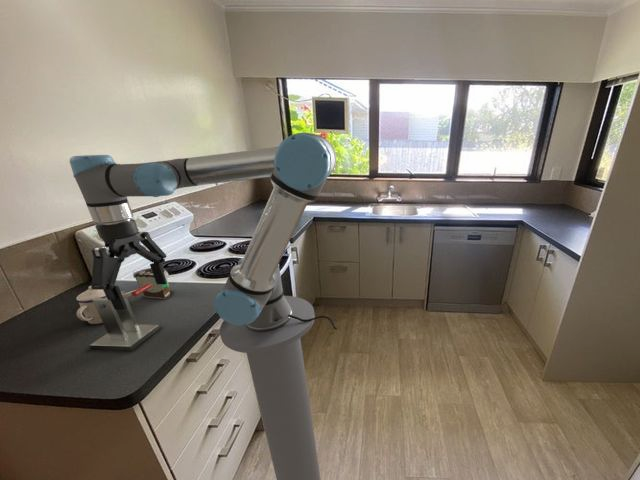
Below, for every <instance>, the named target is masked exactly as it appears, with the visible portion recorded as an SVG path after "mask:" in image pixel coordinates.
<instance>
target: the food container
mask: <svg viewBox="0 0 640 480" xmlns="http://www.w3.org/2000/svg"><path fill="white" fill-rule="evenodd" d="M132 275H133V279H134V278H135V280H136V281H135V282H136V283H137V285H138V288H140V287H142V286H144V285H145V284H147V283H149V284H151V288H149V289H147V290H146V291H144V292H142V293H141V294H142V295H143V298H151V299H161V300H166V299H169V297H170V296H171V290H170V285H169V280H168V277H169V273H168V271H167V270H166V269H165V268H164V275H165V278H166V281H167V284H157V283H156V281H155V278H154V275H153V272H152V269H151V267H149V268H143V269H139V270H137V271H134V272H132Z"/></svg>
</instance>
